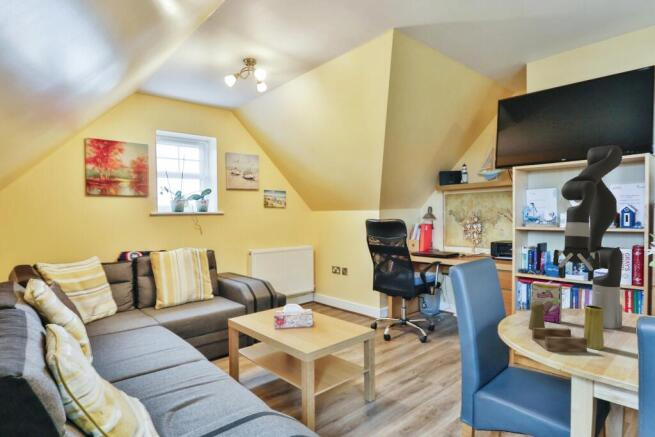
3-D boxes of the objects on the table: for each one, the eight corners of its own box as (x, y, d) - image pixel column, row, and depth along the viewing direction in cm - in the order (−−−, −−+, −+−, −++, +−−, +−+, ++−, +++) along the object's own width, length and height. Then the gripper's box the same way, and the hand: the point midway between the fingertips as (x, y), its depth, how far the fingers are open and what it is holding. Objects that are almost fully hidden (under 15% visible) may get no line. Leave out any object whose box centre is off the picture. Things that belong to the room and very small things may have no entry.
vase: (607, 350, 126) (608, 309, 126) (588, 349, 127) (588, 308, 127) (598, 344, 132) (599, 305, 132) (579, 342, 133) (580, 304, 133)
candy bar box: (530, 319, 162) (531, 282, 162) (533, 316, 166) (533, 281, 166) (559, 324, 155) (560, 286, 155) (561, 321, 159) (562, 284, 159)
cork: (544, 328, 150) (544, 301, 150) (546, 332, 145) (546, 305, 144) (527, 326, 153) (528, 300, 152) (529, 330, 147) (529, 303, 147)
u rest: (568, 340, 136) (568, 328, 136) (586, 352, 125) (587, 339, 125) (532, 339, 137) (532, 327, 137) (547, 350, 126) (547, 338, 126)
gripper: (602, 236, 131) (601, 281, 130) (557, 234, 141) (555, 276, 140) (599, 235, 126) (597, 282, 125) (552, 233, 136) (550, 277, 135)
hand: (575, 279), depth 133 cm, fingers open, 8 cm apart
